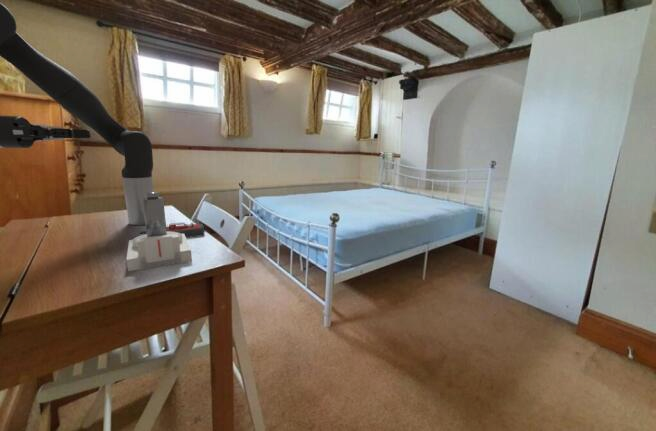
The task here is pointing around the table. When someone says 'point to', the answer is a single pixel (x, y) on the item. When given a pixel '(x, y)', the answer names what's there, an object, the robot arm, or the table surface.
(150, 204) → the steel weight
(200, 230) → the walkie-talkie
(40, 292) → the table surface
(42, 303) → the table surface
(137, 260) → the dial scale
